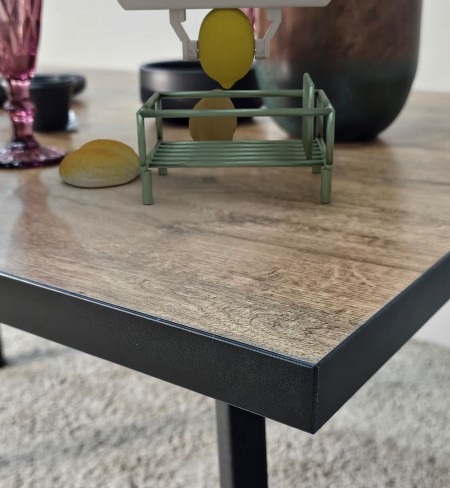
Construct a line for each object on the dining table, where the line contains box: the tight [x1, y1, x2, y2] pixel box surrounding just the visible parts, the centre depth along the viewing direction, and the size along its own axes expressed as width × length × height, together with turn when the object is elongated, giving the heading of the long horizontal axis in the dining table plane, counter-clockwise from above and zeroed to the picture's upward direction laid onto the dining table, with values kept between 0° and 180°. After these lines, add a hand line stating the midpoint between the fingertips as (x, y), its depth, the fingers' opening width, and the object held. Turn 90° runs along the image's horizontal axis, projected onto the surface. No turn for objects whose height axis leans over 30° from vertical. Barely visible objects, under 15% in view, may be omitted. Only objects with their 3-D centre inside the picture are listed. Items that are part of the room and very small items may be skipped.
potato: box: [188, 88, 238, 141], centre depth 88 cm, size 7×8×8 cm
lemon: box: [197, 8, 256, 90], centre depth 71 cm, size 6×6×8 cm
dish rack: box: [135, 72, 336, 205], centre depth 74 cm, size 18×13×11 cm
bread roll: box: [58, 138, 141, 188], centre depth 80 cm, size 8×9×4 cm
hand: (226, 59), depth 72 cm, fingers closed on lemon, 5 cm apart
